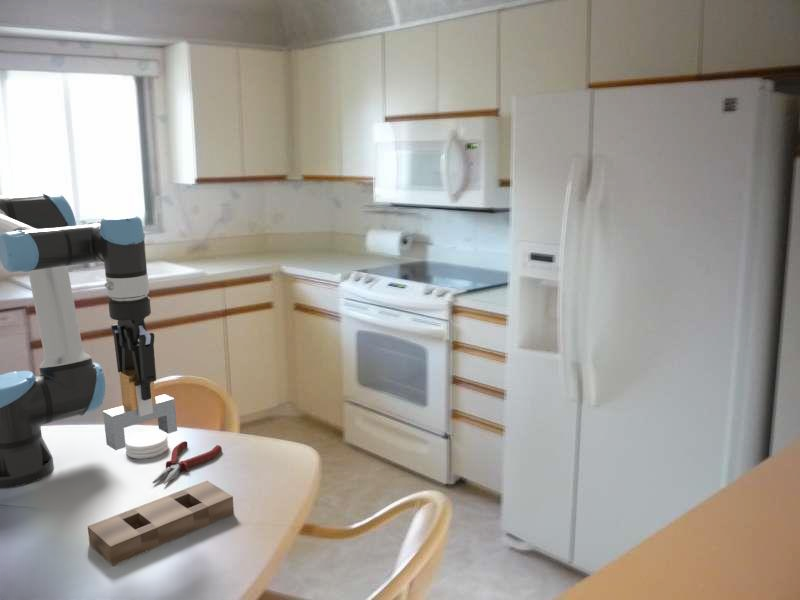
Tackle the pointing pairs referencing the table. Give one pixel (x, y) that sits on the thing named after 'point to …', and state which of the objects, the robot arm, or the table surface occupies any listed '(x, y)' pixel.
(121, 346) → the robot arm
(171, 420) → the clip
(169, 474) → the pliers
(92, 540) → the slotted wooden block
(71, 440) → the table surface
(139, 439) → the white round stack
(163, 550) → the table surface
